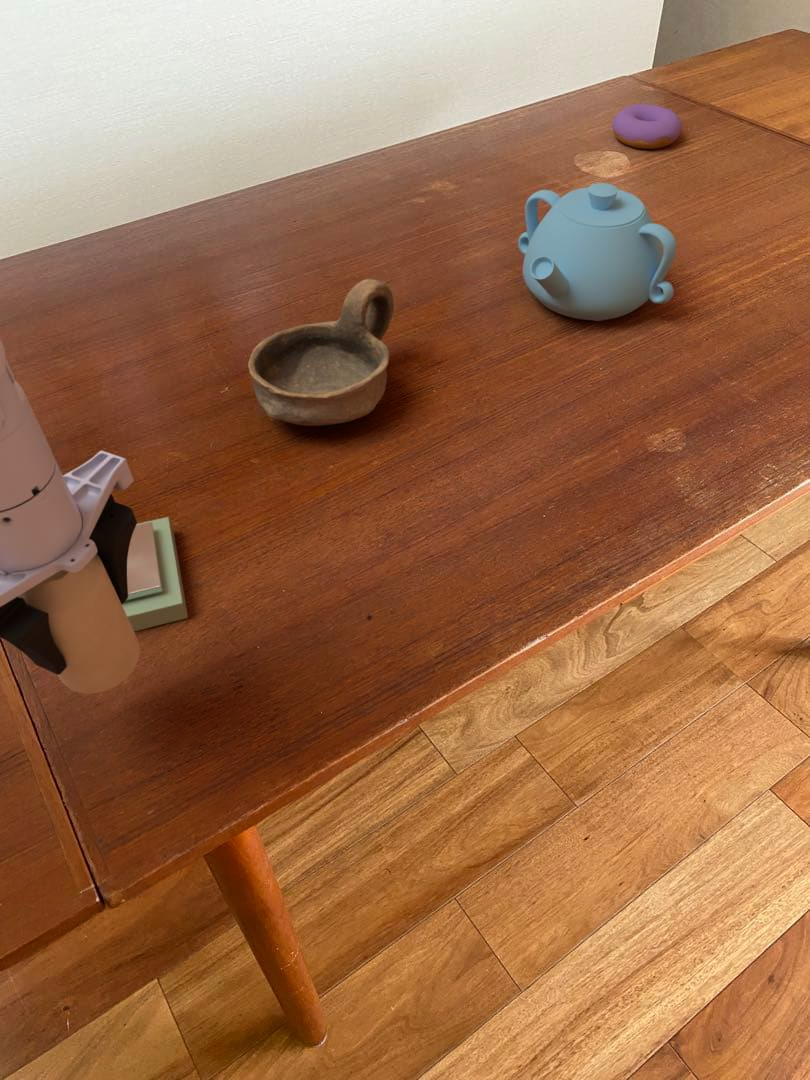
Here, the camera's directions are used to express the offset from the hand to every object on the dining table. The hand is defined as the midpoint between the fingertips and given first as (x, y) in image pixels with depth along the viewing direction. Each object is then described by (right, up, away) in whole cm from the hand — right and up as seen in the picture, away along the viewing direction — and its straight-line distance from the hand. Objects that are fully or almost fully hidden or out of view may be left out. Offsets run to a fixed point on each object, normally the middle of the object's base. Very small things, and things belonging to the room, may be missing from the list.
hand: (82, 630), depth 56 cm
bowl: (+14, +20, +33) cm, 41 cm away
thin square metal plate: (-3, +3, +14) cm, 15 cm away
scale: (-3, +2, +16) cm, 16 cm away
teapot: (+40, +32, +43) cm, 67 cm away
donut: (+56, +65, +72) cm, 112 cm away
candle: (0, -2, +3) cm, 4 cm away
